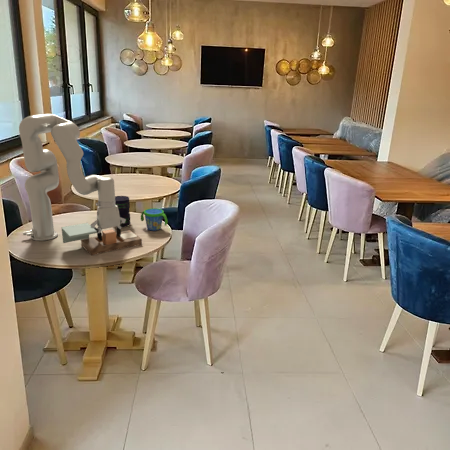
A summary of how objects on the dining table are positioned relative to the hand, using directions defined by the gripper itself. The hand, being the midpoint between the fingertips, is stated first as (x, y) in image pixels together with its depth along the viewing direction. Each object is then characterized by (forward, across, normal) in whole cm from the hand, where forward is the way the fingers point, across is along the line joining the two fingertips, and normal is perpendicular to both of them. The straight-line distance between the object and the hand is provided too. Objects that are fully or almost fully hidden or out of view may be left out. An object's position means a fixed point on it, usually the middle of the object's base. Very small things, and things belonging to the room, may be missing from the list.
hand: (109, 238), depth 198 cm
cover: (0, -14, 0) cm, 14 cm away
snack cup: (+4, +28, +10) cm, 30 cm away
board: (+4, +1, 0) cm, 4 cm away
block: (+3, 0, 0) cm, 3 cm away
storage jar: (+4, +16, +26) cm, 31 cm away
